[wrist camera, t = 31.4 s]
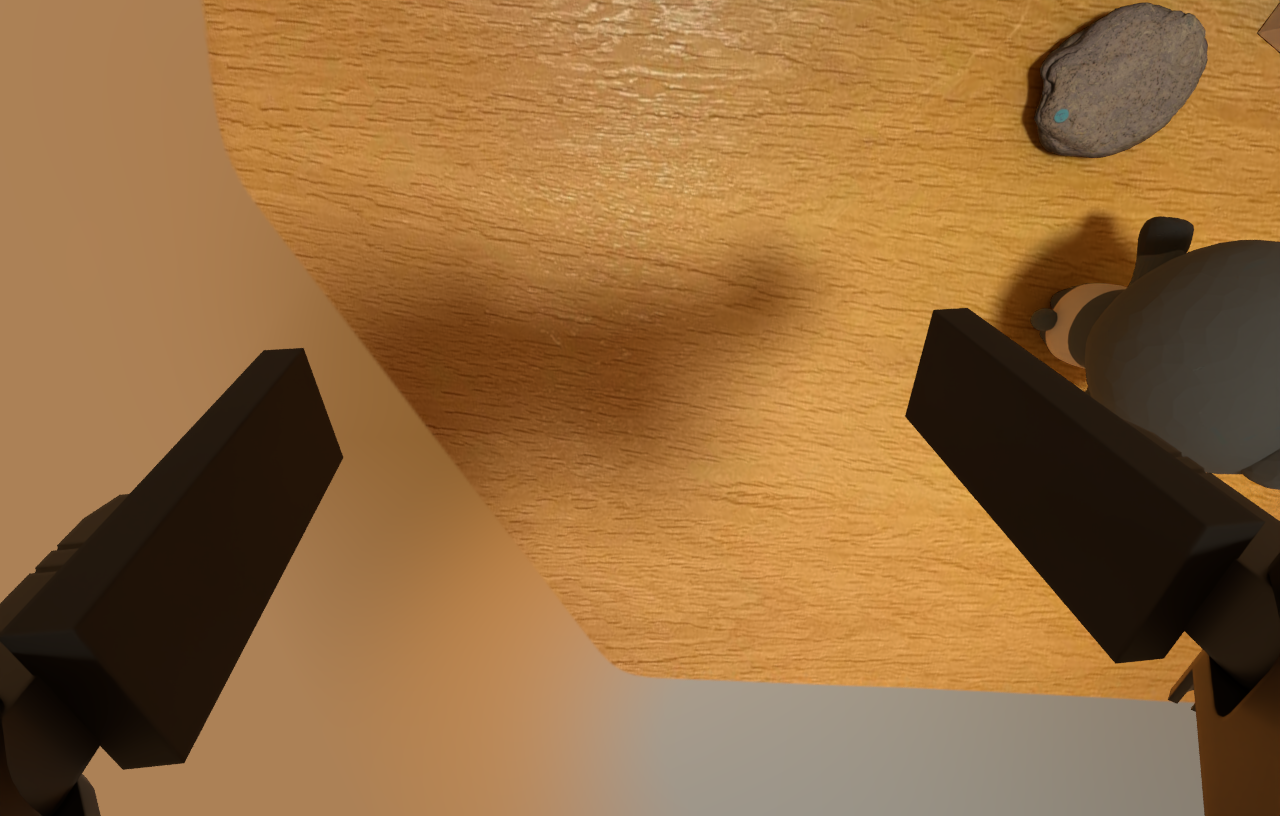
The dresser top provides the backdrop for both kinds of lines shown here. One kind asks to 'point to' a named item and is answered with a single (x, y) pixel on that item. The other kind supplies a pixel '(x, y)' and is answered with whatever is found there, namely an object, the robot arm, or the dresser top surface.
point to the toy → (1184, 347)
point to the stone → (1119, 80)
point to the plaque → (1272, 29)
